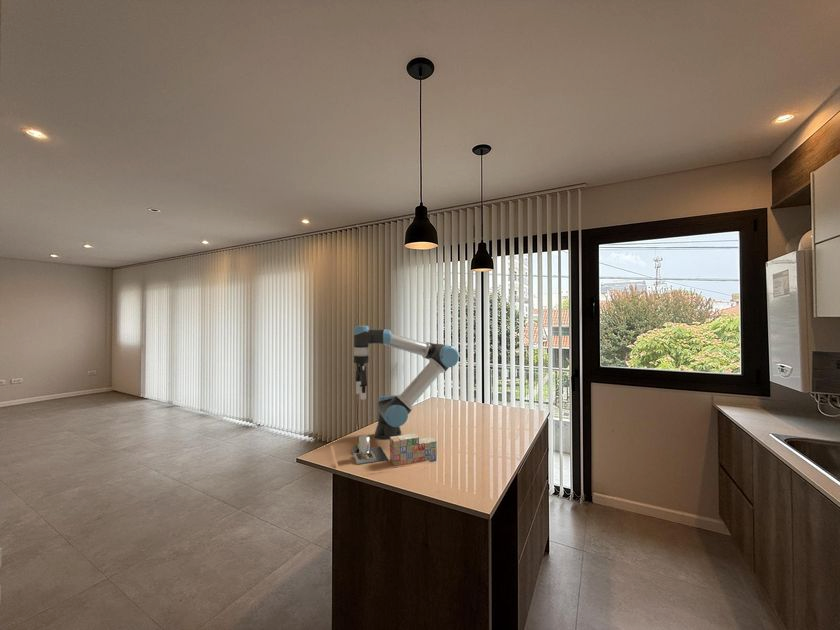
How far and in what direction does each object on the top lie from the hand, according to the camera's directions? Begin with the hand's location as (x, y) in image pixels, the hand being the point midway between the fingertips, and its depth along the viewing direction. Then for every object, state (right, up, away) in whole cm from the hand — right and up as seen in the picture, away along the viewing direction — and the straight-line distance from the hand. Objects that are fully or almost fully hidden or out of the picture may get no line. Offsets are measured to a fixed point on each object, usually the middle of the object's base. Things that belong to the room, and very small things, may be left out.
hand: (360, 396), depth 175 cm
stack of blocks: (+28, -27, -17) cm, 42 cm away
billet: (+5, -25, -17) cm, 31 cm away
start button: (+1, -25, -8) cm, 26 cm away
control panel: (+6, -27, -12) cm, 30 cm away
